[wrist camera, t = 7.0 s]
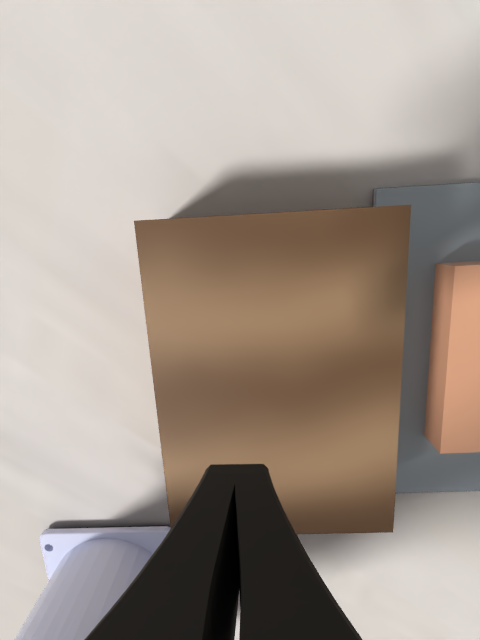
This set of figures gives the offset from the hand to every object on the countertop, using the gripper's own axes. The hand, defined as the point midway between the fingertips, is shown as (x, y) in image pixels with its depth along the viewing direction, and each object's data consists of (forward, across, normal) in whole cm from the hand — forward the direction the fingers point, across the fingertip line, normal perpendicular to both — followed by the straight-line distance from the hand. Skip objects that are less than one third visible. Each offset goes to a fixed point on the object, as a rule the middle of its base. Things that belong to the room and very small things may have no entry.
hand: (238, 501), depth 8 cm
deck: (+10, -1, 0) cm, 10 cm away
